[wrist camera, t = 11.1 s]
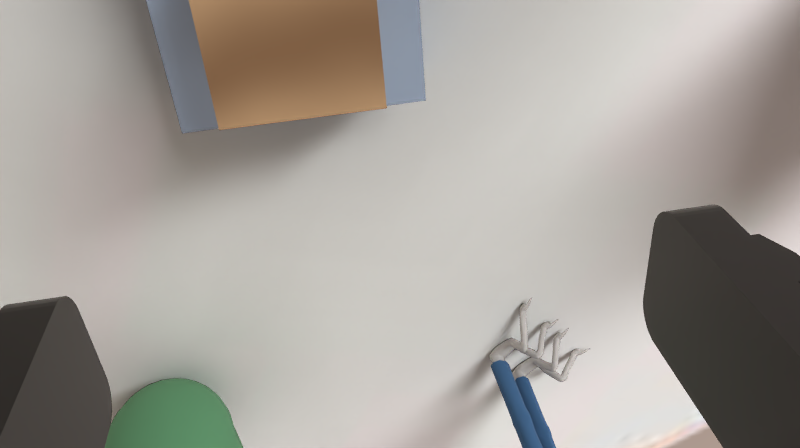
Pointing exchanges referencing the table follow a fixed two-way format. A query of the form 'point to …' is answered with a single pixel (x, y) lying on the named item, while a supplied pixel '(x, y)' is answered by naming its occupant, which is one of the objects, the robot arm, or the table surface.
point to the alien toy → (173, 418)
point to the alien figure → (518, 386)
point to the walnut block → (289, 58)
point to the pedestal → (191, 80)
